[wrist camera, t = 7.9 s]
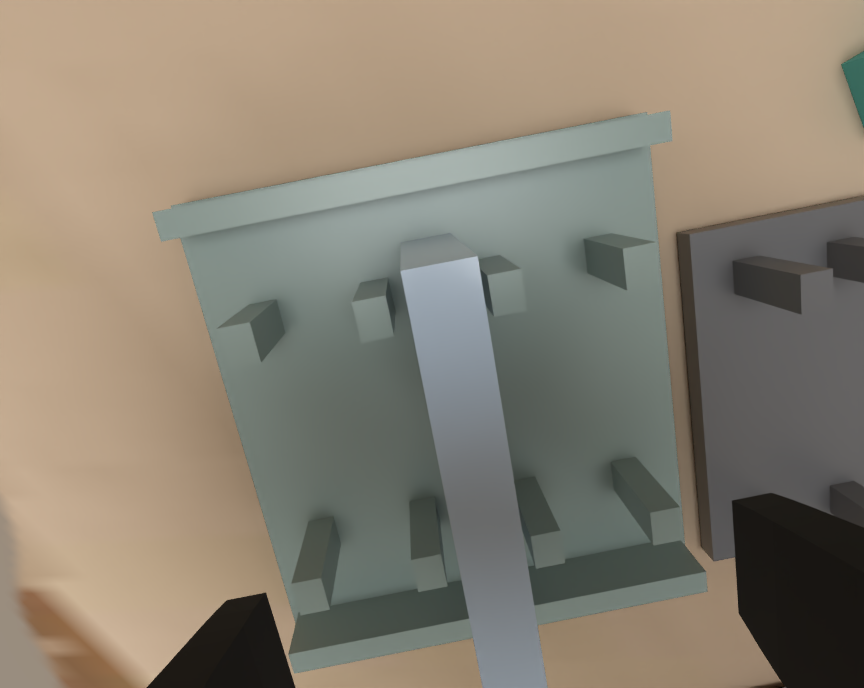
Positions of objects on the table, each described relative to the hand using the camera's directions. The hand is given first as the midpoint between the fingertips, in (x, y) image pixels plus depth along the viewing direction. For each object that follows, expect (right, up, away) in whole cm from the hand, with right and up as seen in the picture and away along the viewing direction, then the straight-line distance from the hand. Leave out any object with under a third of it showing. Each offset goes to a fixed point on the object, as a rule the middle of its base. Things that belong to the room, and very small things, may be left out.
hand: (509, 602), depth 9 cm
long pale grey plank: (0, +2, +9) cm, 9 cm away
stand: (+10, +3, +10) cm, 15 cm away
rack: (-1, +2, +10) cm, 10 cm away
